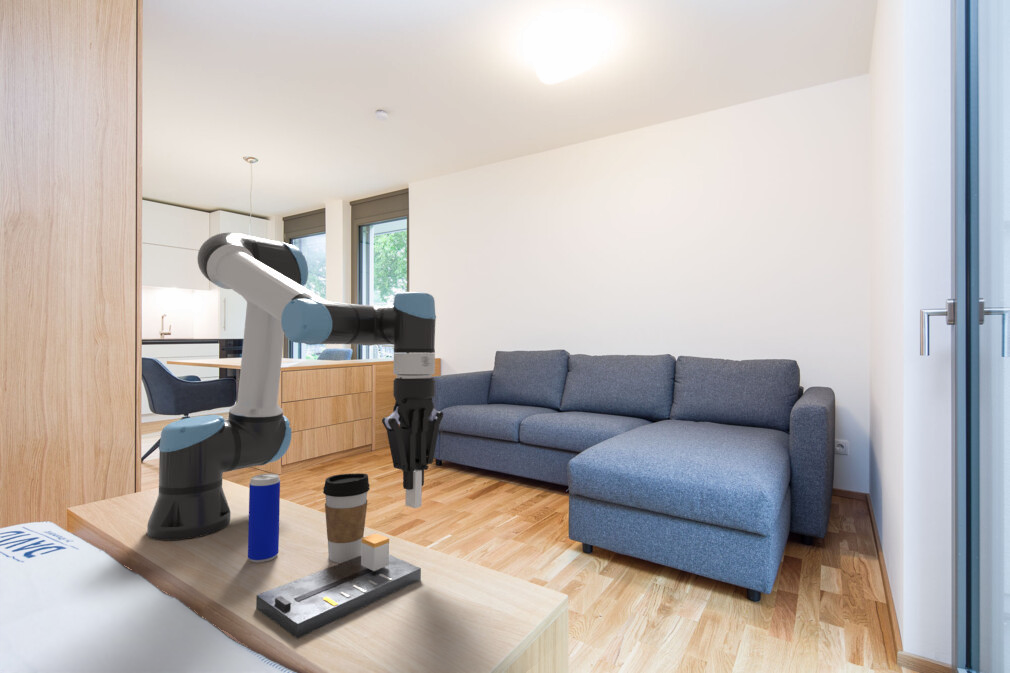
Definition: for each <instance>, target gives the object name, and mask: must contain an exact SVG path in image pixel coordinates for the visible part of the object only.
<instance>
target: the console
mask: <svg viewBox="0 0 1010 673" xmlns="http://www.w3.org/2000/svg"><path fill="white" fill-rule="evenodd" d="M421 575H422V568H421V567H419V566H417V565H415V564H412V563H410V562H407V561H406V560H403V559H401V558H398V557H396V556H393V555H391V554H389V565H388V566H385V567H383V568H380V569H378V570H376V571H373V570H371V569H369V568H366V567H364V566H362V565H361V556H358V557H356V558H353V559H350V560H348V561H345V562H342V563H338V564H337V563H336V564H335V565H333V566H330V567H326V568H324V569H322V570H321V569H320V570H318V571H316V572H314V573H310V574H308V575H306V576H303V577H300V578H298V579H296V580H292V581H290V582H286V583H285V584H282V585H279V586H277V587H273V588H272V589H269V590H266V591H263V592H261V593H258V594H256V599H255V600H256V601H255V603H256V604H255V609H256V610H257V611H259V612H261V613H262V614H263V615H265V617H266V618H268V619H270V620H271V621H272V622H274V623H275V624H276V625H277V626H279V627H281V628H282V629H283V630H285V631H286V632H287V633H289V634H290V635H291V636H293V637H294V638H295V639H297V640H298V639H300V638H302V637H304V636H307V635H308V634H311V633H312V632H315V631H317V630H319V629H321V628H323V627H325V626H327V625H329V624H332V623H333V622H335V621H338V620H339V619H342V618H344V617H346V616H348V615H350V614H352V613H354V612H356V611H359V610H360V609H362V608H364V607H367V606H369V605H371V604H374V603H375V602H377V601H379V600H382V599H383V598H386V597H388V596H390V595H393V594H394V593H396V592H399V591H400V590H401V591H402V590H403V589H405V588H406V587H409V586H411V585H413V584H415V583H418V582H420V581H421V579H422V578H421V577H422V576H421Z"/></svg>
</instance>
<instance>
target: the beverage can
mask: <svg viewBox="0 0 1010 673" xmlns="http://www.w3.org/2000/svg"><path fill="white" fill-rule="evenodd" d="M248 486H249V489H248V490H249V491H248V528H247V530H248V533H247V534H248V535H247V558H248V560H249V561H250V562H251V563H257V564H258V563H259V564H260V563H261V564H262V563H266V562H269V561H272V560H274V559H275V558H276V557H277V555H278V554H279V548H280V546H279V545H280V543H279V542H280V509H281V507H280V504H281V502H280V500H281V478H280V476H279V474H276V473H263V474H257V475H256V474H255V475H254V476H252V477H251V479H250V480H249V485H248Z"/></svg>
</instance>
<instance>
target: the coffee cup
mask: <svg viewBox="0 0 1010 673" xmlns="http://www.w3.org/2000/svg"><path fill="white" fill-rule="evenodd" d="M370 486H371V485H370V482H369V475H368V474H367V473H363V472H362V473H361V472H360V473H357V472H356V473H342V474H341V473H340V474H335V475H331V476H328V477H326V478H325V481H324V486H323V487H322V490H323V491H322V493H323V494H324V495H325V503H324V512H325V524H326V525H325V526H326V536H327V537H326V538H327V549H328V551H327V553H328V554H327V555H328V559H329V561H331V562H333V563H338V564H340V563H342V562H345V561H348V560H350V559H353V558H356V557H358V556H361V542H362V538H364V533H365V526H366V525H365V524H366V516H367V510H368V509H367V508H368V498H367V497H368V492H369V491H370Z"/></svg>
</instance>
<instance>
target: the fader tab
mask: <svg viewBox="0 0 1010 673" xmlns="http://www.w3.org/2000/svg"><path fill="white" fill-rule="evenodd" d="M389 555H390V538H389V537H387V536H384V535H382V534H379V533H378V532H376V533H373V534H369V535H367V536H363V538H362V542H361V565H362V566H364V567H366V568H369V569H371V570H373V571H376V570H378V569H380V568H383V567H385V566H388V565H389Z"/></svg>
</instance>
